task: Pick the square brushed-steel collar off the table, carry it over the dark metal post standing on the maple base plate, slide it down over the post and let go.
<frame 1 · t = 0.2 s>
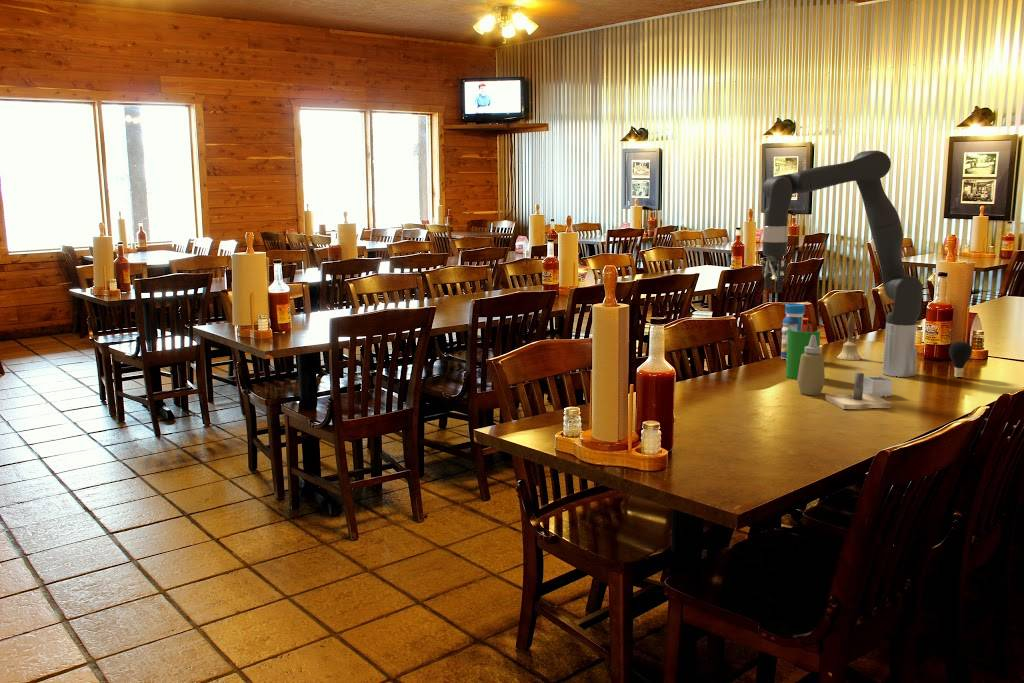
hand: (773, 290, 285), 29 cm above the table, tool pointing down, fingers open, 8 cm apart
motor: (802, 377, 292), on the table
beverage bottle: (792, 359, 321), on the table
light bulb: (958, 378, 290), on the table
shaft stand: (857, 403, 257), on the table
collar: (876, 394, 268), on the table
squeeze bottle: (810, 394, 270), on the table
hand bell: (849, 358, 322), on the table
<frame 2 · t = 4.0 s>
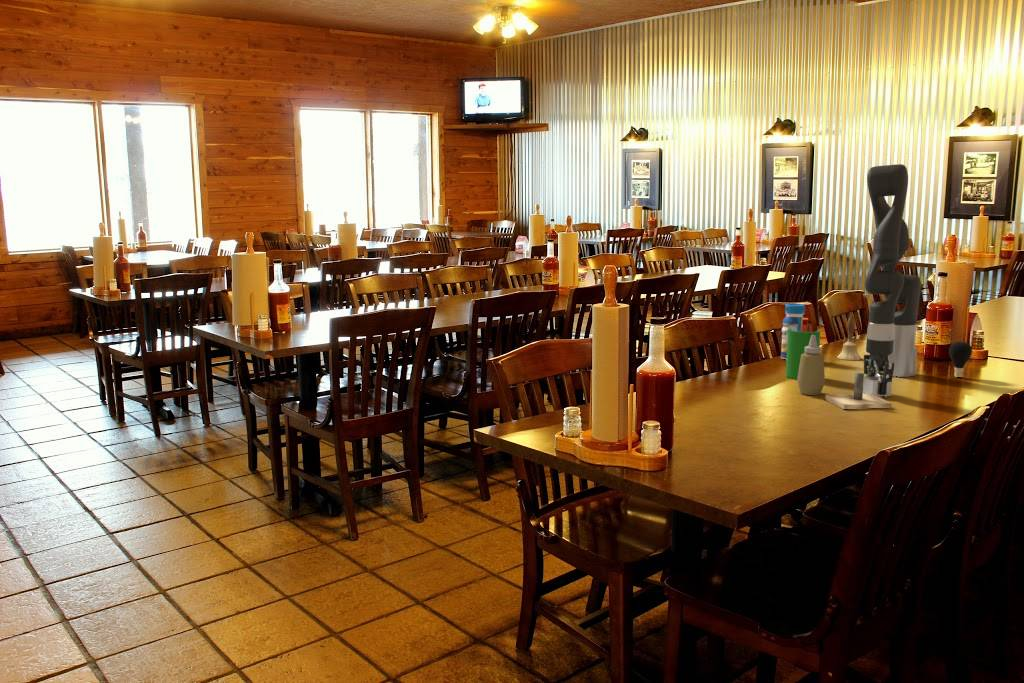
hand: (876, 392, 268), 1 cm above the table, tool pointing down, fingers closed on collar, 6 cm apart
collar: (876, 394, 268), on the table, touching gripper
everything else where it was.
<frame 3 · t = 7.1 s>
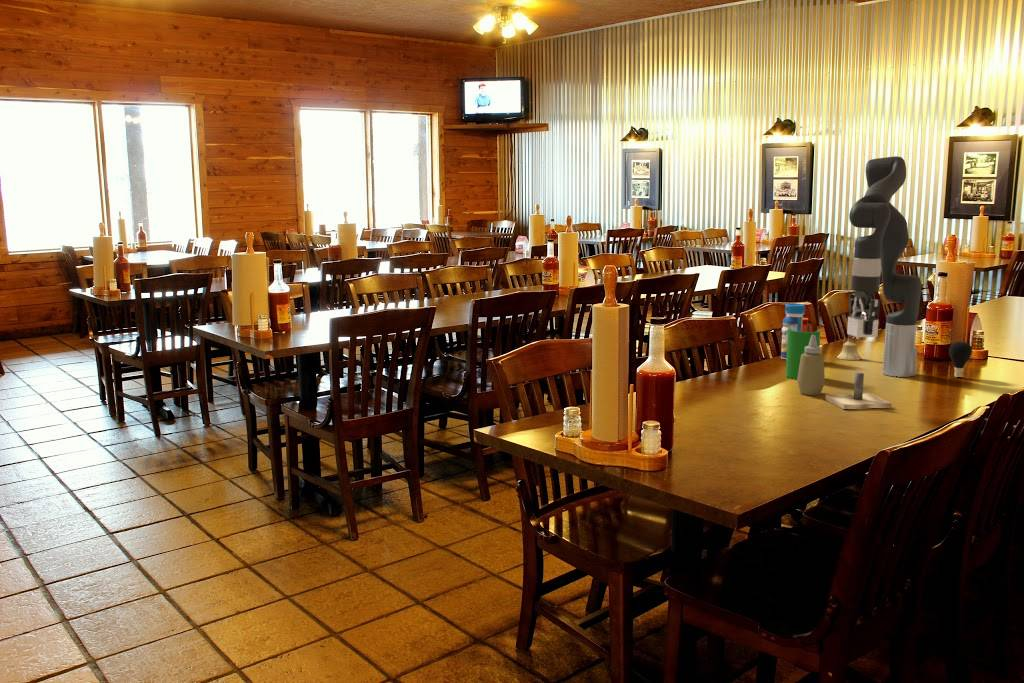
hand: (862, 332, 253), 21 cm above the table, tool pointing down, fingers closed on collar, 6 cm apart
collar: (861, 335, 253), point 20 cm above the table, touching gripper
everything else where it was.
when the fingers open (4 cm above the table, at t = 10.4 s): collar drops 2 cm, resting on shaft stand.
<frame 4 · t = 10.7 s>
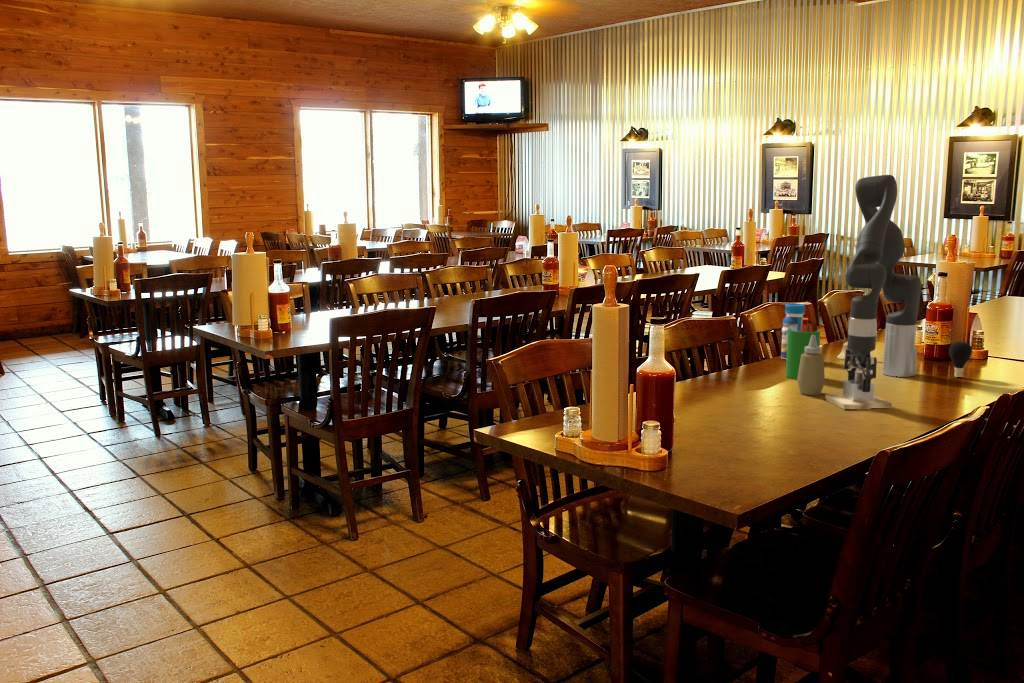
hand: (858, 388, 256), 5 cm above the table, tool pointing down, fingers open, 8 cm apart
collar: (857, 398, 257), point 1 cm above the table, touching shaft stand
everything else where it was.
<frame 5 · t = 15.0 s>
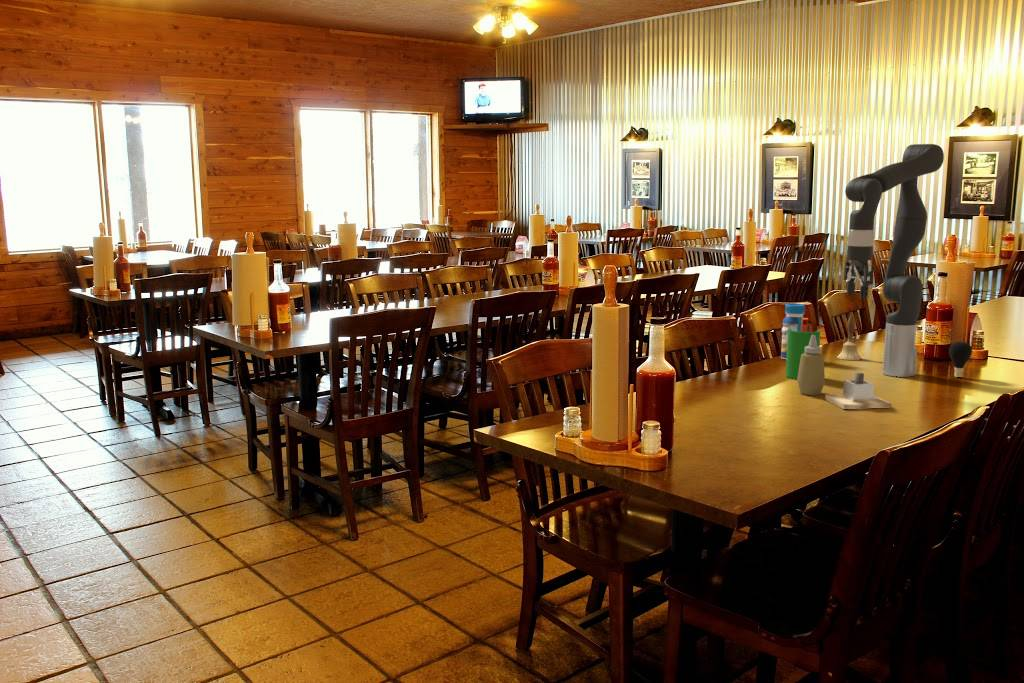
hand: (856, 296, 276), 28 cm above the table, tool pointing down, fingers open, 8 cm apart
nothing on the table moved.
at the end: collar 0.1 cm off-centre on the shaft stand, point 1.5 cm above the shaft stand's base; collar tilted 0°; the gripper is holding nothing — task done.
